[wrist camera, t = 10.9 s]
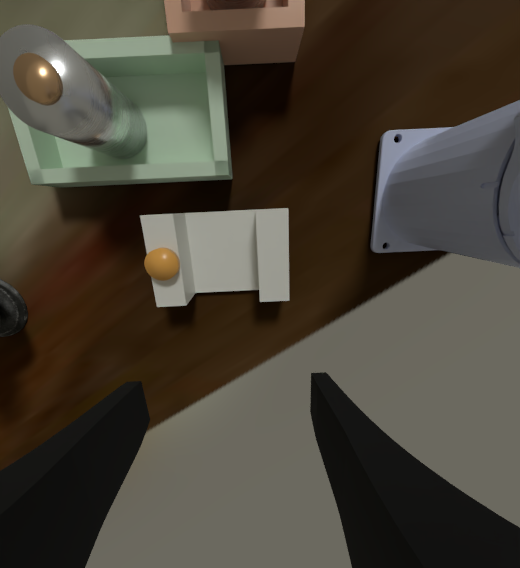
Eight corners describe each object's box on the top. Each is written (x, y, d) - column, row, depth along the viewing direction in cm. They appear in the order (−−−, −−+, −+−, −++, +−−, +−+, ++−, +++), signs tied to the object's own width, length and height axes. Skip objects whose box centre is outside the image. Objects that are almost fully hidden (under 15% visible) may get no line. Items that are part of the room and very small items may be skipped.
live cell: (151, 159, 16) (92, 131, 10) (95, 158, 16) (2, 130, 10) (142, 94, 15) (71, 20, 9) (82, 93, 15) (-31, 16, 9)
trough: (223, 59, 15) (217, 33, 13) (232, 179, 17) (228, 174, 15) (28, 68, 15) (-12, 44, 13) (60, 187, 17) (31, 184, 15)
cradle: (283, 208, 17) (289, 208, 14) (284, 287, 19) (290, 303, 16) (156, 214, 17) (131, 215, 14) (169, 292, 19) (150, 310, 16)
